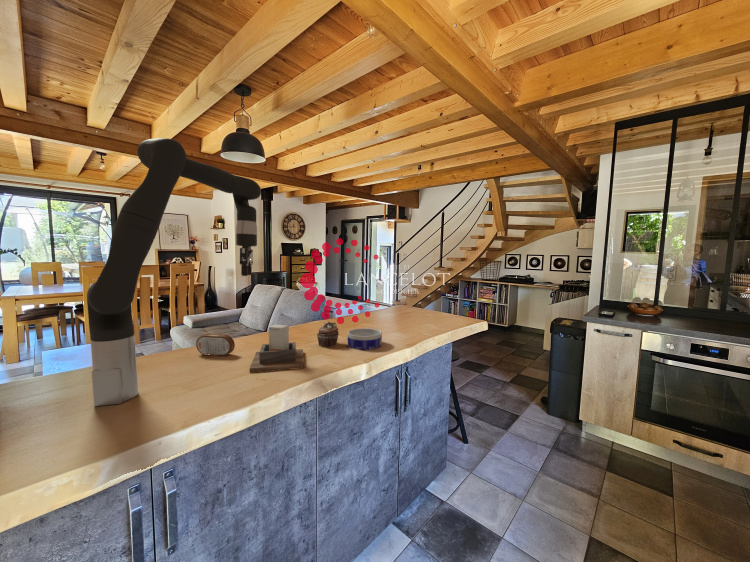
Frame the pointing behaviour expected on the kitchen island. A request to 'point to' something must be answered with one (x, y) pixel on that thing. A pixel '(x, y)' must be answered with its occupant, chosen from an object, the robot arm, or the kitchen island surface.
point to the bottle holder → (277, 359)
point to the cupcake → (328, 335)
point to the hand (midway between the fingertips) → (246, 275)
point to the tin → (215, 344)
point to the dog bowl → (364, 338)
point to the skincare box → (278, 337)
